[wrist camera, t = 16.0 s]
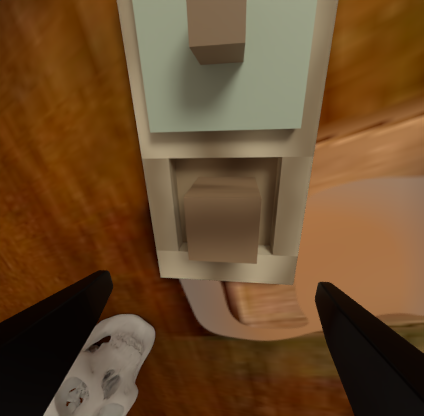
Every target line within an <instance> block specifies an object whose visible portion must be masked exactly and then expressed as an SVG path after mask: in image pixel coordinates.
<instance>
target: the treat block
mask: <svg viewBox="0 0 424 416" xmlns="http://www.w3.org/2000/svg"><path fill="white" fill-rule="evenodd" d="M261 200H262V198H261V195H260V192H259V189H258V186H257V183H256V179H255V177H198V178H197V179H196V181H195V182H194V184H193V185H192V186H191V188H190V189H189V190H188V192H187V193H186V195H185V196H184V209H185V221H186V233H187V245H188V258H189V260H191V261H210V262H229V263H248V264H257V254H258V241H259V227H260V214H261Z"/></svg>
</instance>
